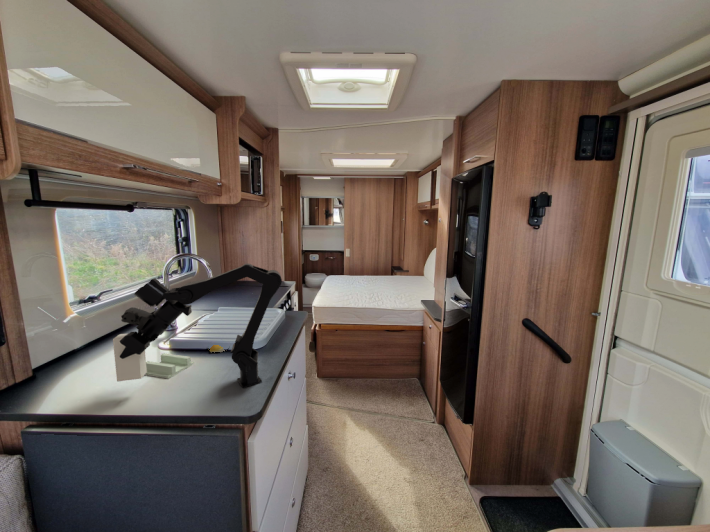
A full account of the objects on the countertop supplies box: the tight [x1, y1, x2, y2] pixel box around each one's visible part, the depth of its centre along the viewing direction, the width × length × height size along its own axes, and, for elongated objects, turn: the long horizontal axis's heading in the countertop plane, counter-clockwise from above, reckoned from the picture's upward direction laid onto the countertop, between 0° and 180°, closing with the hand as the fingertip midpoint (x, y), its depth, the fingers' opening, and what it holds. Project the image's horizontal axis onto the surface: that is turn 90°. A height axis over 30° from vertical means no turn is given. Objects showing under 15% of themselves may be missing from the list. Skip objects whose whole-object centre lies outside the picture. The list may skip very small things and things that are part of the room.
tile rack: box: [144, 352, 195, 380], centre depth 101 cm, size 12×11×4 cm
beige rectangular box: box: [112, 333, 147, 382], centre depth 83 cm, size 6×4×13 cm, turn 107°
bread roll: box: [209, 345, 226, 354], centre depth 120 cm, size 8×9×4 cm
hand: (124, 354), depth 83 cm, fingers closed on beige rectangular box, 4 cm apart
